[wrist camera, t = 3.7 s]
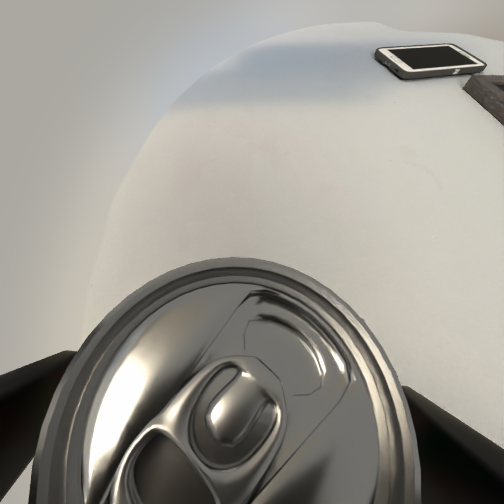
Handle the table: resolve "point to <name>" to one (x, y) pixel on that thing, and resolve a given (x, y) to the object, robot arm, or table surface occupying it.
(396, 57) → the cell phone
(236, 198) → the table surface
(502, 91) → the picture frame
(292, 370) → the soda can
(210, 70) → the table surface
